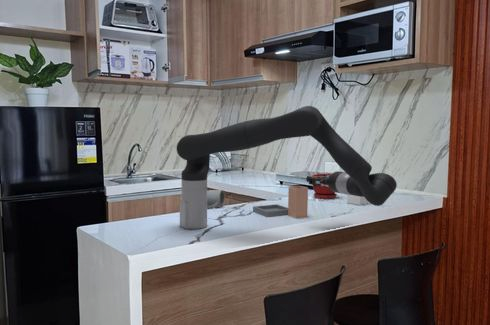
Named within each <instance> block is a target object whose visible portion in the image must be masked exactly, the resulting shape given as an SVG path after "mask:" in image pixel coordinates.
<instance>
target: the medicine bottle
mask: <svg viewBox="0 0 490 325" xmlns="http://www.w3.org/2000/svg"><path fill="white" fill-rule="evenodd" d="M346 198H347V199H346V200H347V201H346V203H347V204H349V205H355V206H364V205H367V204H368V203H369V202H368V201H367V200H366V199H365V197H360V196H354V195H347V196H346Z"/></svg>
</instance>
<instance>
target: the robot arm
mask: <svg viewBox="0 0 490 325" xmlns="http://www.w3.org/2000/svg"><path fill="white" fill-rule="evenodd" d="M302 137H311V138H313V139H314V140H316V141H317V142H318V143H319V144H320V145H321V146H322V147H324V149H325V150H326V151H327V152H328V153H329V155H330V156H331V158H332V159H333V161H334V162H336V163H335V164H337V166H339V168H341V170H342V171H334V172H333V173H330V174H331V175H325V176H318V177H312V175H311V176H310V175H307V176H306V181H305V182H307V183H308V185H311V186H313V185H316V186H326V187H329V188H330V189H331V190H332V191H333V192H335V193H336V194H337V193H338V194H342V195H354V196H360V197H365V199H366V200H367V201H368V203H369V204H371V205H373V206H376V207H380V206H383V205H384V204H385V203H386V201H387V200H388V199H389V197H391V196H392V194H393V193H394V192H395V191H396V189H397V187H398V186H397V185H398V183H397V181H396V179H395V178H394V177H393V176H392V175H390V174H388V173H385V172H384V173H383V172H377V173H375V172H374V173H371V171H372V170H373V169H372V168H373V166H372V165H371V164H370V163H369V162H368V161H367V160H366V159H365V158H364V157H363V156H362V155H360V153H359V152H358V151H356V150H355V148H353V147H352V146H351V145H349V143H348V142H346V141H345V139H344V138H343V137H341V136H340V135H339V134H338V133H337V132H336V130H335V129H334V128H333V126H331V125H330V123H329V122H328V120H327V119H326V118H325V117H324V115H323V114H322V113H321V111H320V110H319V109H318V108H317V107H315V106H312V105H305V106H302V107H300V108H297V109H295V110H293V111H290V112H287V113H284V114H282V115H279V116H275V117H270V118H269V117H268V118H255V119H250V120H245V121H241V122H237V123H235V124H231V125H227V126H224V127H221V128H219V129H216V130H214V131H210V132H203V133H199V134H198V133H197V134H187V135H185V136H183V137H181V139H179V141H178V142H177V144H176V153H177V154H178V156H179V157H180V158H181V159H182V160H184V161H186V165H185V167H184V169H183V170H182V171H181V175H180V176H181V178H180V179H181V199H179V226H180V227H181V228H183V229H184V230H185V229H186V230H187V229H188V230H189V229H190V230H191V229H192V230H194V229H195V230H197V229H204V228H206V227H208V209H207V191H208V174H209V171H210V164H211V163H210V162H211V161H210V160H211V155H212V154H218V153H230V152H238V151H244V150H250V149H253V148H254V149H255V148H257V147H261V146H264V145H267V144H271V143H273V142H276V141H279V140H284V139H291V138H302ZM370 173H371V174H370ZM321 178H323V179H322V181H321ZM322 183H323V184H322Z"/></svg>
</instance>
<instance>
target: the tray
mask: <svg viewBox="0 0 490 325" xmlns="http://www.w3.org/2000/svg"><path fill="white" fill-rule="evenodd" d="M252 212H253V213H255V212H256V214H258V215H261V216H263V217H266V218H271V217H280V216H288V206H284V205H280V204H277V203H275V204H267V205H264V204H263V205H254V206H252Z"/></svg>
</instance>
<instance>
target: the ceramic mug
mask: <svg viewBox="0 0 490 325" xmlns="http://www.w3.org/2000/svg"><path fill="white" fill-rule="evenodd" d="M225 197H226V195H225V191H224V189H210V190H208V189H207V210H208V209H209V210H212V209H215V208H217V207H218V208H222V207H224V205H225V202H226V198H225Z"/></svg>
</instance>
